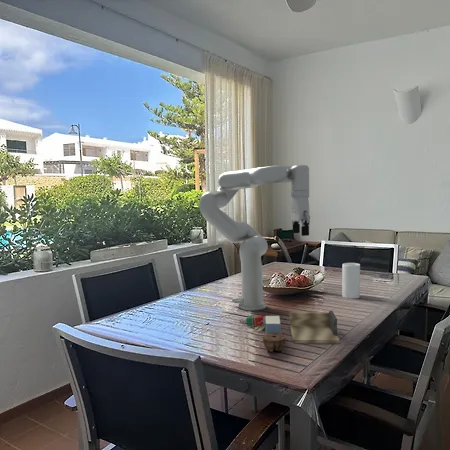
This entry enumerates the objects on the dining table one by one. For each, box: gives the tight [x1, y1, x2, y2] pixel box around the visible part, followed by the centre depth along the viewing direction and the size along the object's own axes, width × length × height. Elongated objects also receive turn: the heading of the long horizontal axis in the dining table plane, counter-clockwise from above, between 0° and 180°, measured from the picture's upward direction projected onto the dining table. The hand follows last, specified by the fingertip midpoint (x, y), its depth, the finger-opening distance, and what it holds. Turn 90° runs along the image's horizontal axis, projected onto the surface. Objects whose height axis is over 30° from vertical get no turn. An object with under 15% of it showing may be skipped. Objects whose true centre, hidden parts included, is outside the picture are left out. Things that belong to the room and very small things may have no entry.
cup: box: [341, 262, 361, 300], centre depth 208 cm, size 8×8×16 cm
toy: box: [239, 314, 267, 333], centre depth 170 cm, size 15×4×15 cm
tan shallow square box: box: [289, 310, 340, 345], centre depth 157 cm, size 16×16×7 cm
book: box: [265, 315, 282, 335], centre depth 153 cm, size 5×9×8 cm, turn 176°
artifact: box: [262, 333, 286, 353], centre depth 143 cm, size 8×8×5 cm
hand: (300, 234), depth 182 cm, fingers open, 9 cm apart
